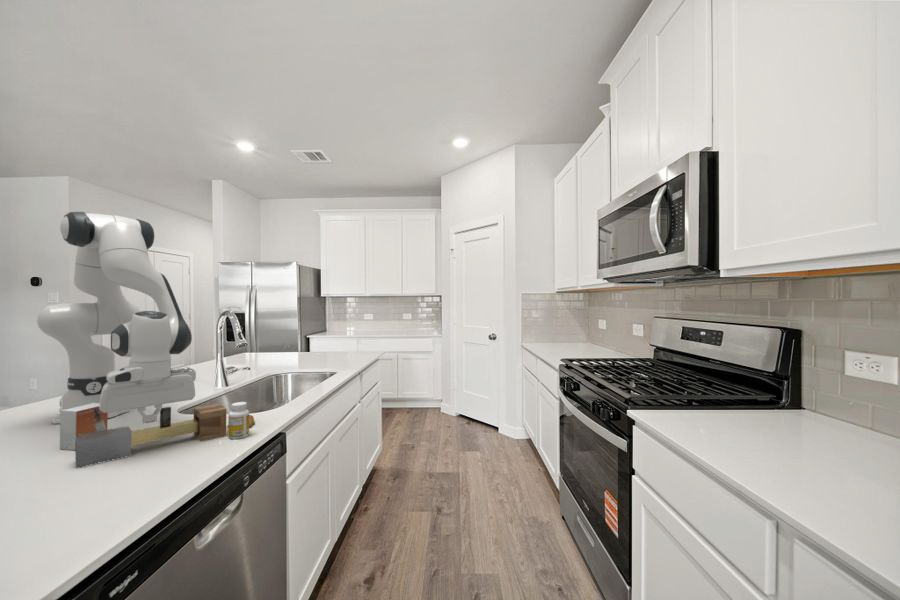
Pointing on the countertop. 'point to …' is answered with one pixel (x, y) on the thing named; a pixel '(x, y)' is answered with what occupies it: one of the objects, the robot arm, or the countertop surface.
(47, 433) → the countertop surface
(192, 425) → the yellow bar with knob
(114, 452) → the sleeve
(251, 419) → the pastry
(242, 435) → the supplement bottle
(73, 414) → the small box
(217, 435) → the socket
